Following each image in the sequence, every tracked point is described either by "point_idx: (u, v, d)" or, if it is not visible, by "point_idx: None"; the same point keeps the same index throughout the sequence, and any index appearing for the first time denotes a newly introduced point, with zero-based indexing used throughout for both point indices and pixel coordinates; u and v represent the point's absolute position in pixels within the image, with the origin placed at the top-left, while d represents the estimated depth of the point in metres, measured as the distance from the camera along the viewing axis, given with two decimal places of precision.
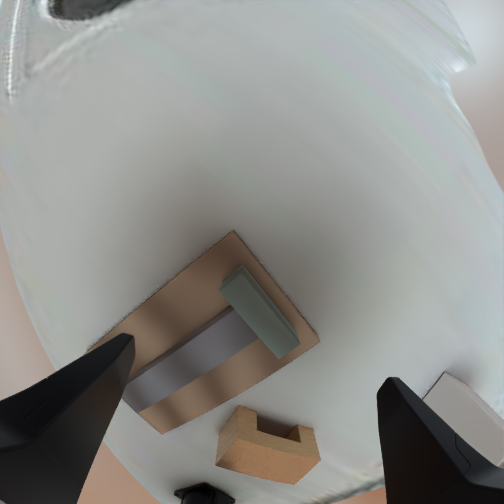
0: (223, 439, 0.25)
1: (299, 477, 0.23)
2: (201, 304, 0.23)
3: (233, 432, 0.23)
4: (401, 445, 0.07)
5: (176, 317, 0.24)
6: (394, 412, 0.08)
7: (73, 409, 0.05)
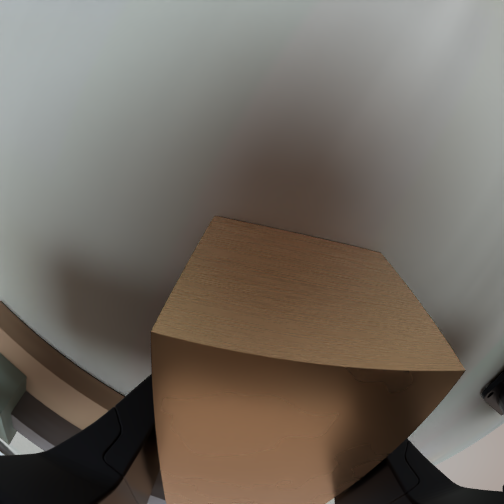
0: None
1: (391, 383, 0.04)
2: None
3: None
4: None
5: None
6: None
7: (151, 438, 0.05)
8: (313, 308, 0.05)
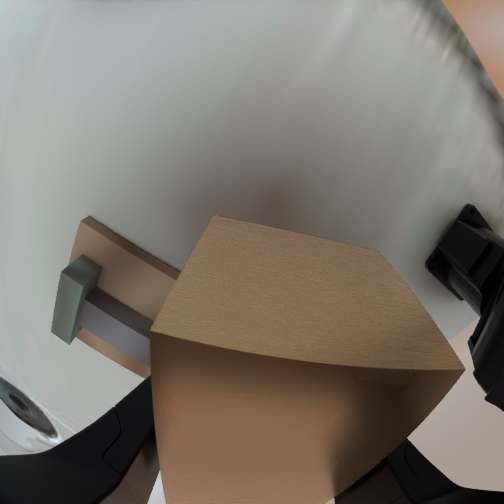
0: None
1: (391, 382, 0.04)
2: None
3: None
4: None
5: None
6: None
7: (151, 438, 0.05)
8: (312, 307, 0.05)
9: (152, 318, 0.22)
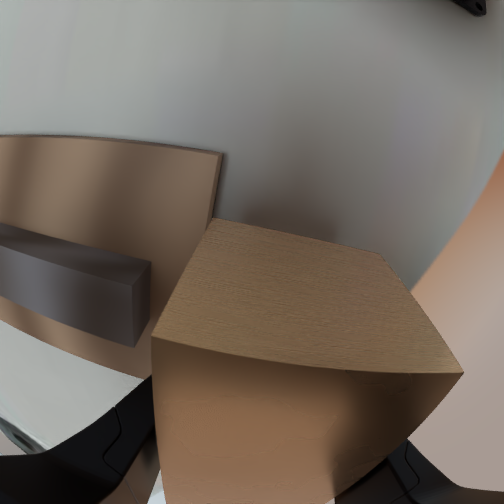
0: None
1: (390, 385, 0.04)
2: None
3: None
4: None
5: None
6: None
7: (151, 438, 0.05)
8: (312, 311, 0.05)
9: None
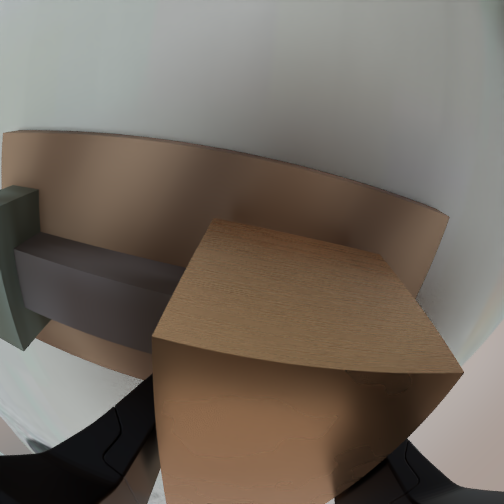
0: None
1: (390, 385, 0.04)
2: None
3: None
4: None
5: None
6: None
7: (151, 438, 0.05)
8: (313, 311, 0.05)
9: (137, 251, 0.11)
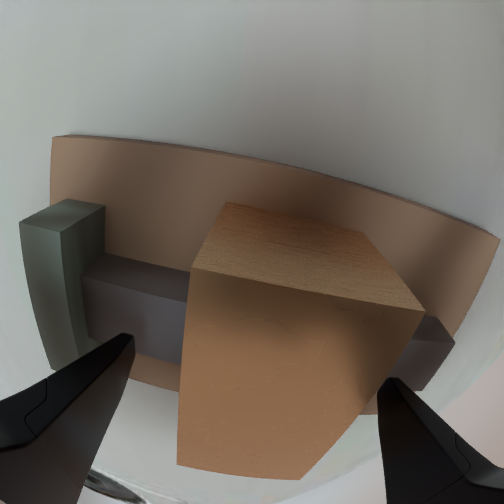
0: None
1: (363, 313, 0.05)
2: None
3: None
4: (401, 445, 0.07)
5: None
6: (394, 412, 0.08)
7: (73, 409, 0.05)
8: (304, 261, 0.07)
9: None
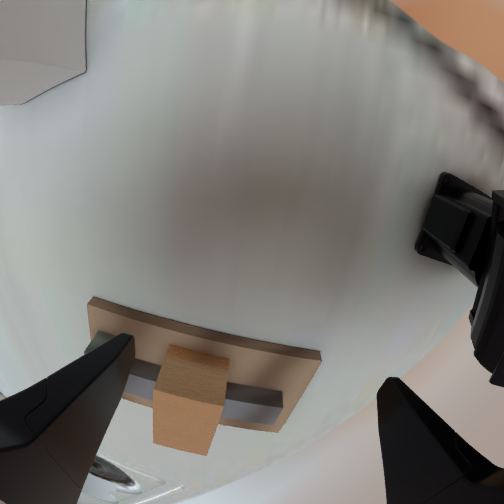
0: None
1: (201, 404, 0.18)
2: None
3: None
4: (401, 445, 0.07)
5: None
6: (394, 412, 0.08)
7: (73, 409, 0.05)
8: (188, 384, 0.19)
9: None
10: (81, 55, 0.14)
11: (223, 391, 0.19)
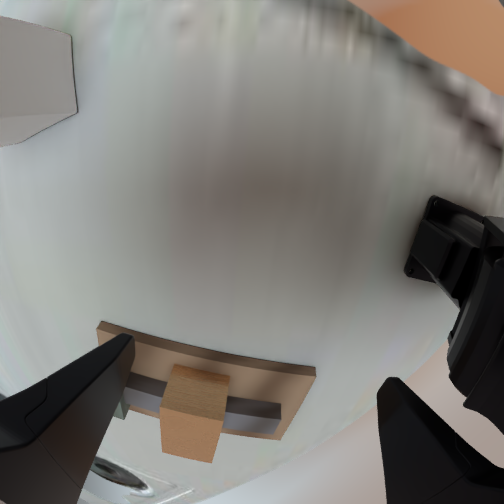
0: None
1: (203, 419, 0.19)
2: None
3: None
4: (401, 445, 0.07)
5: None
6: (394, 412, 0.08)
7: (73, 409, 0.05)
8: (191, 401, 0.20)
9: None
10: (71, 96, 0.15)
11: (223, 407, 0.20)
